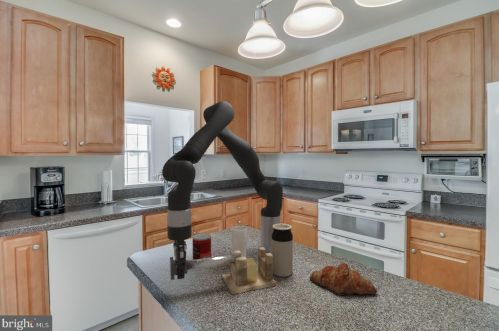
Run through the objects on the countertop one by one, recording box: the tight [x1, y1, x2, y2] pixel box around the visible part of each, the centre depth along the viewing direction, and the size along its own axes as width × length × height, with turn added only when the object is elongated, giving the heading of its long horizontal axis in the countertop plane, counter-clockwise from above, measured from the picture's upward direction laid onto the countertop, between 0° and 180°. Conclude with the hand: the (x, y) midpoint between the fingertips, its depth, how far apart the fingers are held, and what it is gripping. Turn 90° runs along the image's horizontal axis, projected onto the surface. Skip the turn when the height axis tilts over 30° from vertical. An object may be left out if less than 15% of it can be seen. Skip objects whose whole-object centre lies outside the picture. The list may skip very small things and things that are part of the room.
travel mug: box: [272, 223, 294, 278], centre depth 96 cm, size 8×8×18 cm
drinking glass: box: [230, 225, 248, 258], centre depth 104 cm, size 7×7×15 cm
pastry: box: [309, 262, 378, 296], centre depth 86 cm, size 17×15×8 cm
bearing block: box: [221, 246, 277, 295], centre depth 89 cm, size 16×12×10 cm
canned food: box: [192, 232, 212, 260], centre depth 107 cm, size 8×8×11 cm
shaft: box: [169, 253, 240, 281], centre depth 84 cm, size 23×6×5 cm, turn 110°
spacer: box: [246, 257, 258, 283], centre depth 90 cm, size 4×6×6 cm, turn 20°
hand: (180, 275), depth 81 cm, fingers closed on shaft, 3 cm apart
